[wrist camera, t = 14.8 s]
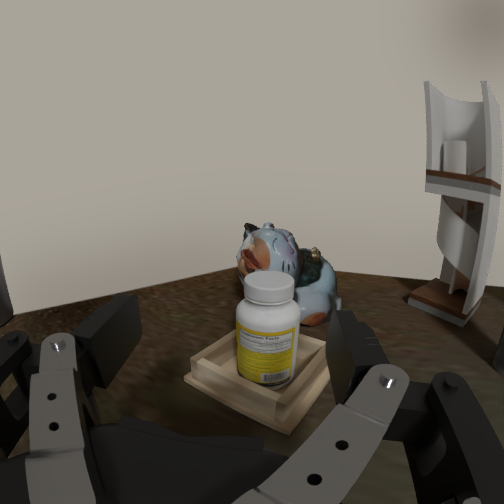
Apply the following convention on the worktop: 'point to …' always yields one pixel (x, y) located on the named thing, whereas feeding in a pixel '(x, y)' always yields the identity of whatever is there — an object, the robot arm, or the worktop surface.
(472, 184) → the white shelf stand
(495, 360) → the beverage cup
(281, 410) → the birch dock
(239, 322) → the supplement bottle
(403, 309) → the worktop surface
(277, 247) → the lucky cat figurine
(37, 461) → the robot arm
